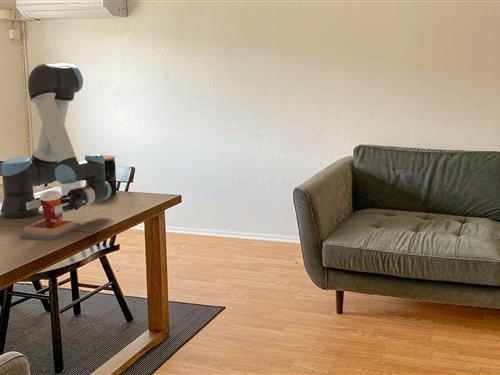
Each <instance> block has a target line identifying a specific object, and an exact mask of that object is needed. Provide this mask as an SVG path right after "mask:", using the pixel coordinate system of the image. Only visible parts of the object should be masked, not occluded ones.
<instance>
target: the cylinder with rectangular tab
mask: <svg viewBox="0 0 500 375" xmlns="http://www.w3.org/2000/svg"><path fill="white" fill-rule="evenodd" d="M79 187H82V183H81V181H78V182H74V183H69V184H61V183H60V188H61V192H60V194H61V195H62V196H63V195H67V194H68V192H69V191H70V190H72V189H75V188H79Z"/></svg>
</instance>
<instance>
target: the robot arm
mask: <svg viewBox="0 0 500 375" xmlns="http://www.w3.org/2000/svg"><path fill="white" fill-rule="evenodd" d="M83 85H84V79H83V75H82V73H81V71H80V69H79V68H78V67H77V66H76V65H74V64H71V63H66V62H65V63H42V64H39V65H37V66H35V67H34V68H33V69H32V70H31V72H30V73H29V75H28V79H27V90H28V96H29V98H30V100H31V103H33V104H34V105H35V106H36V109H37V113H38V115H39V117H40V121H41V122H42V123H41V129H40V135H39V139H38V143H37V148H36V149H34V150H33V151H32V155H31V157H30V156H19V157H12V158H9V159H6V160H4V161H3V162H2V164H1V178H2V187H3V200H2V205H1V208H0V216H1V218H5V219H6V218H7V219H23V218H27V217H33V216H36V215H38V214H40V208H42V203H41V200H40V197H35V194H34V187H37V186H42V185H46V184H47V185H49V184H52V183H54V182H58V183H59V184H60V185H61V184H69V183H74V182H78V181H80V182H81V181H86V185H83V186H82V185H81V187H79V188H75V189H72V190H70V191H69V192H68V194H67V195H63V196H62V197H61V205H57V206H54V209H55V214H58V213H61V212H62V213H65V212H67V211H72V210H75V211H77V210H78V211H79V209H80V208H81V207H87V206H88V205H91V204H93V203H97V202H102V201H104V200H107V199H108V198H109V197H111V196H112V195H111V192H112V190H111V187H110V184H109V183H107V182H106V181H105V164H104V157H103V156H104V155H103V154H101V153H89V154H85V156H84V160H82V161H78V158H77V156H76V153H75V150H74V148H73V145H72V143H71V139H70V138H69V134H68V132H67V128H66V126H65V122H66V118H67V113H68V108H69V105H70V104H69V103H71V102H73V101H74V99H75V95H76V94H75V93H78V92H80V91H81V90H82V88H83Z"/></svg>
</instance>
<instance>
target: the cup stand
mask: <svg viewBox="0 0 500 375" xmlns="http://www.w3.org/2000/svg"><path fill="white" fill-rule="evenodd" d="M62 223H63V225H61V226H58V227H56V228H54V229H49V228H47V227H46V223H45V218H44V219H41V220H38V221H36V222H34V223H31V224H29V225H26V226H24V227H23V233H21V234H20V235H19V238H20V239H27V240H28V239H29V240H38V239H39V240H40V241H41V240H42V241H51V242H52V241H54V240H57V239H58V238H60V237H62V236H64V235H66V234H69V233H70V232H72V231H75V230H77V229H79V228H81V227H82V223H81V222H74V221H73V220H64V219H62Z"/></svg>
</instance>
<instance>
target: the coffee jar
mask: <svg viewBox="0 0 500 375" xmlns="http://www.w3.org/2000/svg"><path fill="white" fill-rule="evenodd" d="M103 157H104V164H105V181H106V182H107V183H109V184H110V187H111V190H112V192H111V195H110V196H113V195H116V193H117V177H116V176H117V172H116V161H115V159H116V156H114V155H103Z"/></svg>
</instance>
